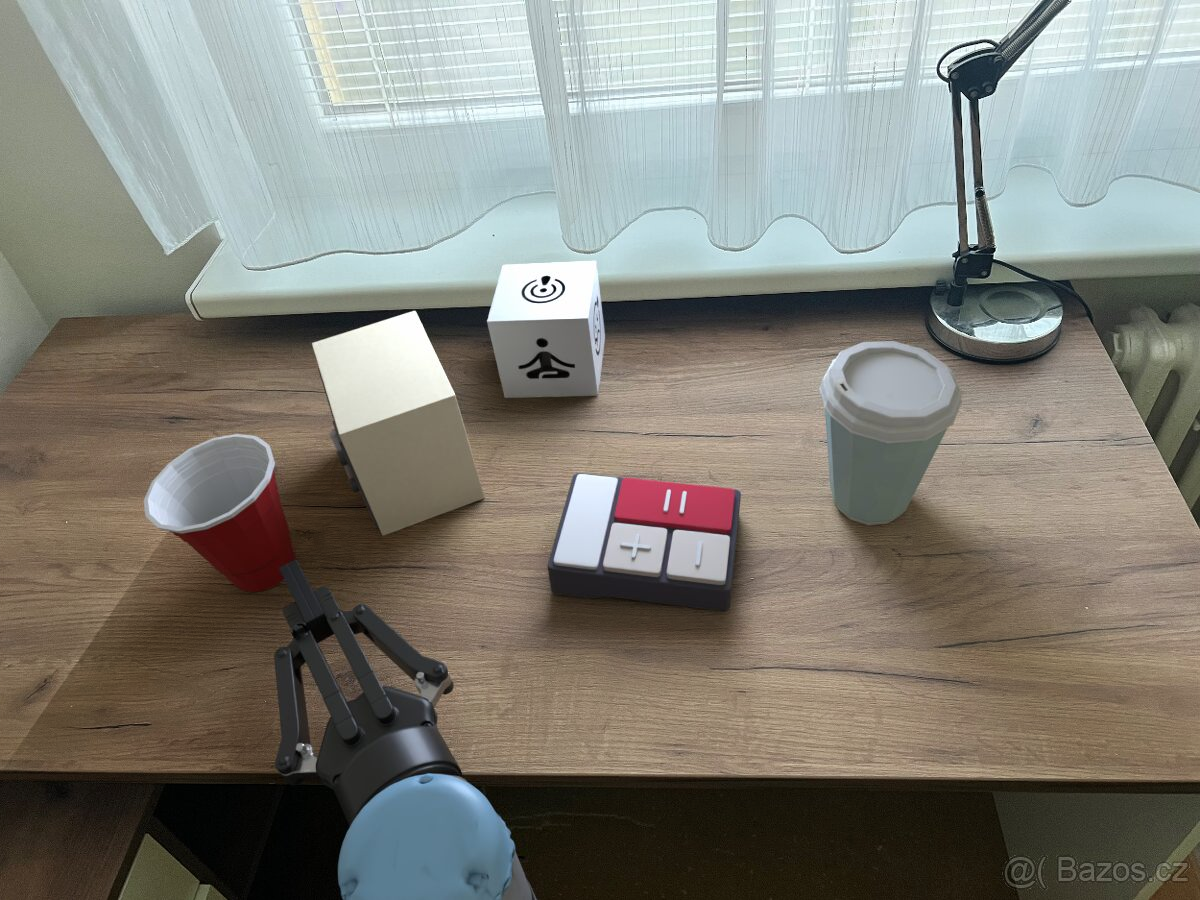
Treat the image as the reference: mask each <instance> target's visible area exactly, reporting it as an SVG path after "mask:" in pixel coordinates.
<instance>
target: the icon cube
mask: <svg viewBox="0 0 1200 900" xmlns="http://www.w3.org/2000/svg"><path fill="white" fill-rule="evenodd" d="M491 302H492V303H491V306H490V309H489V313H488V316H487V317H488V318H487V320H486V323H487V327H488V331H489V336H490V342H491V345H492V349H493V354H494V358H495V361H496V362H495V363H496V367H497V370H498V371H497V372H498V376H499V378H500V383H501V388H502V392H503V397H504V399H509V398H510V399H512V398H513V399H514V398H558V397H599V394H600V393H599V391H600V383H601V377H602V376H601V375H602V369H603V368H602V367H603V358H604V351H605V350H604V349H605V342H606V331H605V323H604V315H603V307H602V298H601V290H600V282H599V273H598V266H597V260H583V261H580V260H579V261H560V262H536V263H513V264H512V263H511V264H502V266H501V269H500V273H499V277H498V280H497V285H496V288H495V292H494V295H493V298H492V301H491Z"/></svg>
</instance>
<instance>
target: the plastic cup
mask: <svg viewBox="0 0 1200 900" xmlns="http://www.w3.org/2000/svg"><path fill="white" fill-rule="evenodd" d="M275 465H276V462H275V459H274V455H273V452H272V448H271V445H270V444H269V443H267V442H266V441H265V440H263V439H261V438H260V437H258V436H257V435H249V434H241V433H234V434H228V435H224V436H218V437H213V438H210V439H208V440H206V441H204V442H201V443H198V444H197V445H194V446H192V447H189V448H188V449H187V450H185V451H184V452H182V453H180V455H178V456H177V457H175V458H174V459H172V460H171V461H170V462H168V463H167V464H165V466H164V467H163V468H162V470H161V471H160V472H159V473H158V474H157V475H156V476H155V477H154V478H153V480H152V481H151V482H150V485H149V487H148V490H147V492H146V494H145V497H144V499H143V507H144V515H145V518H146V519H147V520H149V521H150V522H151V523H152V524H153V525H154V526H155V527H156V528H158V529H159V530H161V531H165V532H169V533H172V535H174V536H175V537H178V538H180V540H182V541H183V542H184V543H187V544H188V545H189V546H190V547H191V548H192V549H193V550H194V551H196V552H197V553H198V554H199V555H200V556H201V557H202V558H203V559H205V561H206V562H207V563H208V564H209V565H211V566H212V567H213V568H214V569H215V570H216V571H217V572H218V573H220V574H222V575H223V576H224V577H225V578H226V579H227V580H228V581H229V582H230V583H231V584H232V585H234V586H235V587H236V588H238V589H240V590H241V591H244V592H249V593H256V592H264V591H267V590H269V589H272V588H273V587H276V586H278V585H279V584H280V583H281V582H282V581H284V579H283V577H282V575H281V573H280V571H279V569H278V568H280V567H282V566H284V565H286V564H288V563H290V562H292V561H294V560H296V556H295V555H296V552H295V549H294V546H293V541H292V539H291V536H290V535H291V531H290V527H289V524H288V521H287V518H286V514H285V510H284V507H283V504H282V500H281V498H280V497H281V496H280V494H279V486H278V484H277V478H276V475H275V470H274V469H275Z"/></svg>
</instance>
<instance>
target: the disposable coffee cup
mask: <svg viewBox="0 0 1200 900" xmlns="http://www.w3.org/2000/svg"><path fill="white" fill-rule="evenodd" d="M818 389H819V393H820V397H821V400H822V402H823V406H824V417H825V419H824V420H825V431H826V444H827V447H826V448H827V459H828V470H829V486H830V492H831V495H832V498H833V502H834V504H835V506H836V508H837V509H838V510H839V511H840V512H841V513H842V514H844V516H845V517H846V518H847V519H848V520H851V521H854V522H856V523H860V524H863V525H865V526H877V525H878V526H879V525H887V524H889V523H891V522H892V521H894V520H896V519H898V518H899V517H901V516H902V514H904V513H905V512H907V510H908V507H909V505H910V503H911V502H912V500H913V497H914V495H915V493H916V491H917V490H918V488H919V485H920V484H921V482H922V480H923V478H924V476H925V474H926V472H927V469H929V466H930V464H931V461H932V459H933V458H934V456H935V454H936V452H937V449H938V448H939V446H940V444H941V442H942V440H943V438H944V436H945V435H946V432H947V430H948V429H949V428H950V427H952V426H953V425H954V423H955V421H956V419H957V415H958V413H959V410H960V407H961V405H962V402H963V400H962V396H963V391H962V389H961V387H960V385H959V383H958V380H957V378H956V376H955V374H954V372H953V370H952V368H950V367H949V366H948V365H947V364H945V362H942V361H941V360H940V359H939V358H936V357H935V356H934V355H932V354H931V353H930V352H928V351H927V350H925V349H924V348H921V347H916V346H913V345H911V344H910V345H909V344H907V343H902V342H899V341H894V340H881V341H878V340H877V341H862V342H860V343H858V344H855V345H852V346H850V347H848V348H846V349H844V350H841V351H839V352H838V353H837V356H836V358H834V359H832V361H831V363H830V365H829V367H828V369H827V371H826V373H825V374H824V376H823V378H822V380H821V384H820V387H819V388H818Z"/></svg>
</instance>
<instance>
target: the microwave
mask: <svg viewBox="0 0 1200 900" xmlns="http://www.w3.org/2000/svg"><path fill="white" fill-rule="evenodd" d="M311 346H312V350H313V352H314V356H315V358H316V363H317V366H318V368H317V370H318V373H319V377H320V381H321V383H322V386H323V390H324V394H325V397H326V400H327V403H328V406H329V409H330V413H331V417H332V425H333V428H334V429H331V431H330V432H329V436H330V439H331V441H332V443H333V446H334V448H335V450H336V455H337V458H338V461H339V463H340V465H341V467H343V468H344V471H345V472H346V475H347V477H348V482H349V484H350V487H351V491H352V492H353V494H359V493H360V495H361V498H362V500H363V502H364V503H365V507H366V509H367V511H368V514H369V516H370V518H371V520H372V522H373V525H374V527H375V528H376V529H377V528H378V529H379V532H380V533H381V536H383V537H384V536H386V535H389V534H392V533H395V532H398V531H400V530H402V529H405V528H408V527H411V526H414V525H416V524H418V523H423V522H425V521H427V520H429V519H430V520H431V519H433V518H435V517H437V516H440V515H443V514H445V513H448V512H451V511H455V510H456V509H459V508H461V507H464V506H467V505H470V504H473V503H476V502H478V501H481V500H484V499H485V494H484V490H483V486H482V483H481V480H480V476H479V473H478V469H477V465H476V462H475V460H474V455H473V452H472V448H471V445H470V444H471V443H470V441H469V437H468V434H467V430H466V428H465V427H466V426H465V424H464V420H463V417H462V414H461V410H460V406H459V403H458V399H457V396H456V394H455V391H454V389H453V387H452V385H451V383H450V381H449V379H448V377H447V374H446V372H445V370H444V368H443V366H442V363H441V362H440V359H439V357H438V356H437V353H436V352H435V349H434V347H433V345H432V343H431V341H430V338H429V337H428V334H427V332H426V329H425V328H424V326H423V323H422V322H421V320H420V317H419V315H418V313H417V311H416V310H412V311H409V312H405V313H403V314H400V315H397V316H393V317H390V318H387V319H383V320H380V321H378V322H374V323H371V324H368V325H365V326H361V327H359V328H356V329H352V330H349V331H346V332H343V333H339V334H336V335H333V336H330V337H327V338H324V339H320V340H318V341H314V342H312V343H311Z"/></svg>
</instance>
